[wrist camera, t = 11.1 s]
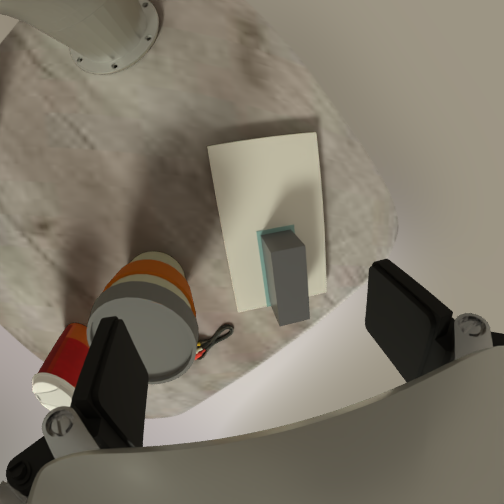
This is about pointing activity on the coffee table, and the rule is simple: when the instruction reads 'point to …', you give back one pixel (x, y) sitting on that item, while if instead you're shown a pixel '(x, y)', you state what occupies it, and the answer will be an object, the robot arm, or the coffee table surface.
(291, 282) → the block
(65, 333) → the coffee cup
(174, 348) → the reusable coffee cup
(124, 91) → the coffee table surface
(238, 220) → the board
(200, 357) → the composite cable
